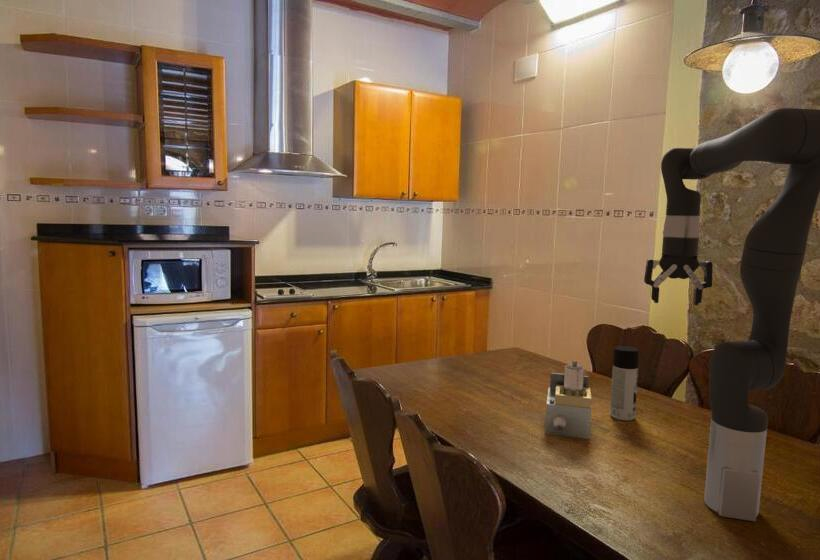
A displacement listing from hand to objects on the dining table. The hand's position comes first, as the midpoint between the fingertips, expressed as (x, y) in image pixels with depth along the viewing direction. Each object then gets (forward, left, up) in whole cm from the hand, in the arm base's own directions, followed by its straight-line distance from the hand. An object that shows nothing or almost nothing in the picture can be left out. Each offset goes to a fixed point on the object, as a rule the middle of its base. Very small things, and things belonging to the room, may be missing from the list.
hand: (675, 303), depth 126 cm
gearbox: (+6, +23, -36) cm, 43 cm away
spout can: (+5, +22, -28) cm, 36 cm away
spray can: (+19, +8, -36) cm, 42 cm away
